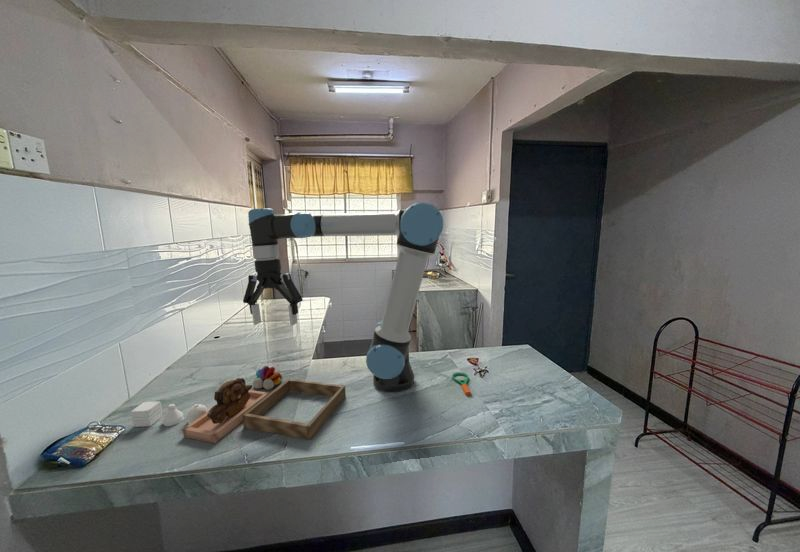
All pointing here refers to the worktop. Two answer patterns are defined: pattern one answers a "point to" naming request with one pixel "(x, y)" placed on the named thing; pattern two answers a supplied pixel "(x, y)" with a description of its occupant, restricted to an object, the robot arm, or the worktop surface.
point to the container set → (153, 412)
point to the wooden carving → (229, 400)
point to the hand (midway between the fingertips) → (275, 323)
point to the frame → (292, 428)
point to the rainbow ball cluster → (267, 378)
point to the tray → (214, 432)
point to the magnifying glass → (462, 382)
